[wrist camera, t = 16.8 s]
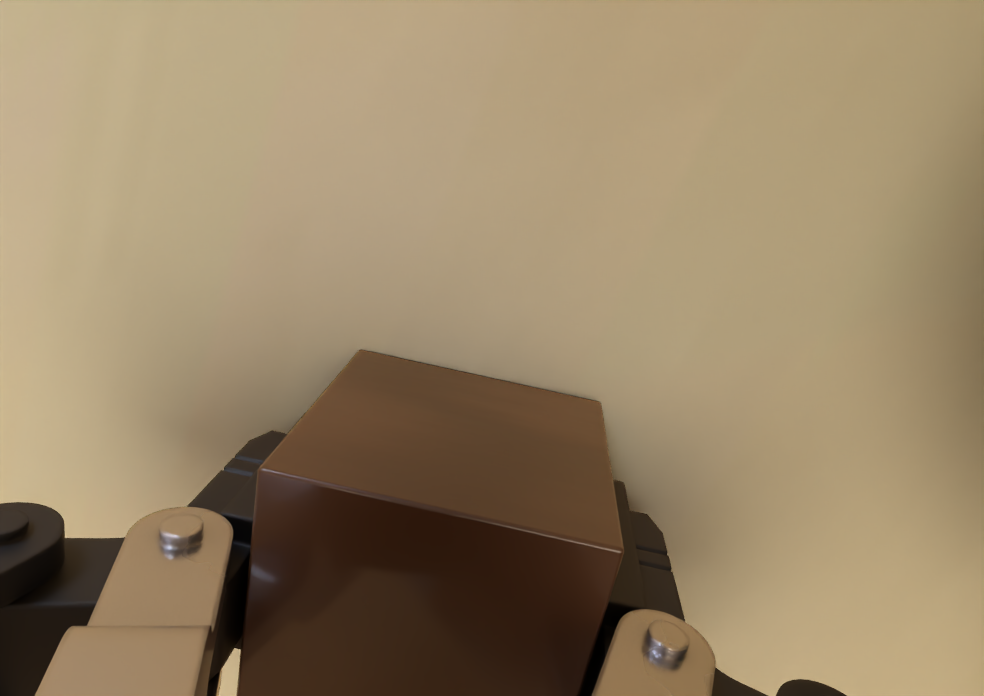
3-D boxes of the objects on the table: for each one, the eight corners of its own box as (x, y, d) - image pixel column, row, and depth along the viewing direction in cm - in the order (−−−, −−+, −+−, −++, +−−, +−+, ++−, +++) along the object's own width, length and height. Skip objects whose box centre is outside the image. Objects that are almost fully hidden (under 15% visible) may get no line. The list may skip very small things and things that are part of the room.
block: (330, 552, 14) (230, 744, 10) (359, 348, 12) (255, 467, 8) (546, 601, 14) (542, 816, 10) (601, 400, 12) (625, 550, 8)
